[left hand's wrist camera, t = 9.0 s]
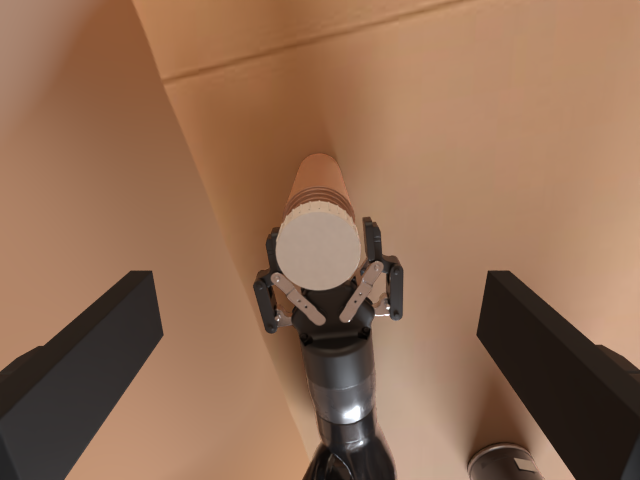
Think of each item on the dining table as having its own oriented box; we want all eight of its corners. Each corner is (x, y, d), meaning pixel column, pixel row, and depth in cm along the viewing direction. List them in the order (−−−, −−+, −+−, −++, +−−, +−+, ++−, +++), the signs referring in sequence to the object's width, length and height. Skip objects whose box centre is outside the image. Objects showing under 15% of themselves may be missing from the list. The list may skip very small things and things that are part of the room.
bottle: (324, 203, 39) (328, 304, 19) (289, 180, 38) (256, 260, 18) (349, 169, 38) (381, 239, 18) (313, 144, 37) (306, 187, 17)
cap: (327, 287, 21) (328, 305, 19) (264, 247, 20) (258, 262, 18) (373, 229, 19) (379, 242, 17) (307, 184, 19) (306, 192, 17)
